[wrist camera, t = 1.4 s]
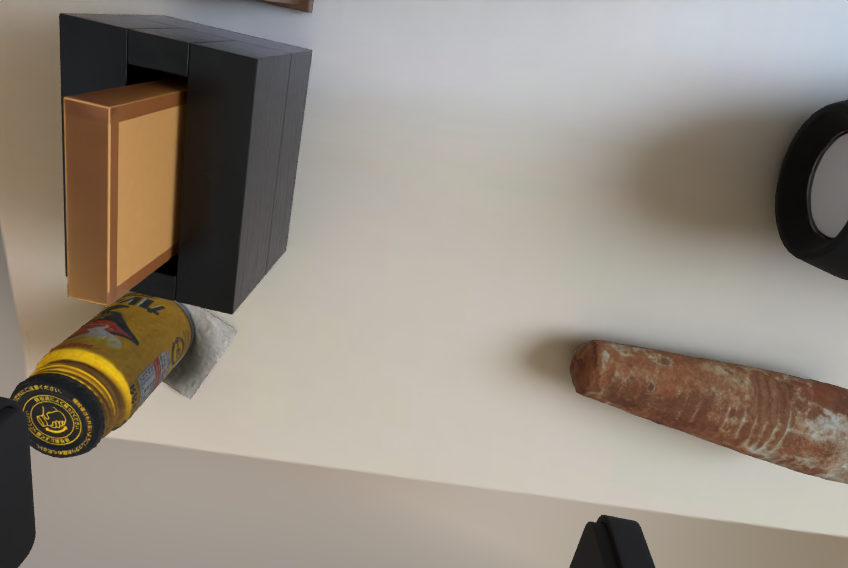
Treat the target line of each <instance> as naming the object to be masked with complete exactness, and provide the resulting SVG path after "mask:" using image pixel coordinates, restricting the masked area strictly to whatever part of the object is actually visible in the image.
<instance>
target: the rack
mask: <svg viewBox="0 0 848 568" xmlns="http://www.w3.org/2000/svg"><path fill="white" fill-rule="evenodd" d="M257 1H261V2H265V3H270V4H274V5H278V6H282V7H287V8H291V9H295V10H300V11H304V12H308V13H312V9H313V1H314V0H257Z"/></svg>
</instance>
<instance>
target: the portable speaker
mask: <svg viewBox="0 0 848 568" xmlns="http://www.w3.org/2000/svg"><path fill="white" fill-rule="evenodd" d="M775 215H776V223H777V228H778V231H779V235H780V238H781V240H782V242H783V244H784V246H785V247H786V249H787V250H788V251H789V252H790V253H791V254H792V255H794V256H795V257H796V258H798V259H800V260H803V261H805V262H807V263H809V264H811V265H813V266H815V267H817V268H819V269H821V270H823V271H826V272H828V273H830V274H832V275H834V276H836V277H839V278H842V279H845V280H848V100H844V101H841V102H837V103H833V104H830V105H827V106H825V107H823V108H821V109H820V110H818V111H817V112H815V113H814V114H813V115H812V116H811V117H810V118H809V119H808V120H807V121H806V122H805V123H804V124H803V125H802V127H801V128H800V129H799V131H798V132H797V134H796V135H795V137H794V139H793V140H792V142H791V144H790V146H789V148H788V151H787V153H786V155H785V157H784V160H783V163H782V167H781V170H780V174H779V178H778V183H777V189H776V196H775Z"/></svg>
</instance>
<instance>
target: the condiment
mask: <svg viewBox="0 0 848 568" xmlns="http://www.w3.org/2000/svg"><path fill="white" fill-rule="evenodd" d="M237 332H238V331H236V330H235V329H233V328H232V327H230V326H228V325H227V324H225V323H224V322H223V321H221V320H220V319H218V318H216V317H214V316H213V315H211V314H210V313H209V312H207V311H206V310H204V309H202V308H200V307H197V306H192V305H188V304H184V303H179V302H176V301H171V300H167V299H162V298H158V297H153V296H149V295H145V294H140V293H136V292H131V291H128V292H126V293H125V294H124V295H123V296H121V297H120V298H119V299H117V300H116V301H115V302H114V303H112V304H111V305H110V306H108V307H106V308H105V309H104V310H103V311H102V312H100V313H99V314H98V315H97V316H95V317H94V318H93V319H92V320H90V321H89V322H88V323H86V324H85V325H83V326H82V327H81V328H80V329H79V330H78V331H76V332H75V333H74V334H72V335H71V336H70V337H68V338H67V339H66V340H65V341H63V342H62V343H61V344H59V345H58V346H56V347H55V348H53V349H51V351H50V352H49V353H48V354H47V355H45V356H44V357H43V359H42V360H41V361H40V362H39V363H38V364H37V368H36V369H35V372H33V373H32V374H31V375H30V376H29V378H28V379H26V380H25V381H23V382H21V383H19V385H17V387H16V389H15V390H14V391H13V393H12V395H11V397H10V399H13V400H16V401H17V403H18V404H19V407H20V410H22V411H25V413H26V414H27V418H28V429H29V444H30V446H32V447H33V448H34V449H36V450H38V451H40V452H41V453H43V454H46V455H49V456H52V457H58V458H67V457H73V456H77V455H81V454H84V453H87V452H89V451H90V450H91V449H93V448H94V447H96V446H97V444H98V443H99V442H100V440H101V439H102V438H104V437H105V436H106V435H107V434H109V433H110V432H111V431H114V430H116V429H117V428H119V427H121V426H122V425H123V424H124V423H126V421H127V420H128V419H130V418H131V417H132V415H133V414H134V413H135V411H136V410H137V409H138V408H139V407H140V406H141V405H142V404H143V402H144V401H145V400H146V399H147V398H148V396H149V395H150V394H151V393H152V392H153V391H154V390H155V389H156V387H157V386H158V385H159V384H160V383H161V382H162V381H163V382H165V383H167V384H168V385H170V386H171V387H173V388H174V389H175V390H177V391H178V392H179V393H181V394H183V395H185V396H186V397H188V398H190V399H191V398H192V397H193V395H194V394H195V392H196V391H197V389H198V388H199V386H200V385H201V384H202V382H203V381H204V379H205V378H206V376H207V375H208V374H209V372H210V371H211V369H212V368H213V366H214V365H215V364H216V362H217V361H218V359H219V358H220V356H221V355H222V353H223V352H224V351H225V349H226V348H227V346H228V345H229V343H230V342H231V340H232V339H233V338H234V336H235V335H236V333H237Z"/></svg>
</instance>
